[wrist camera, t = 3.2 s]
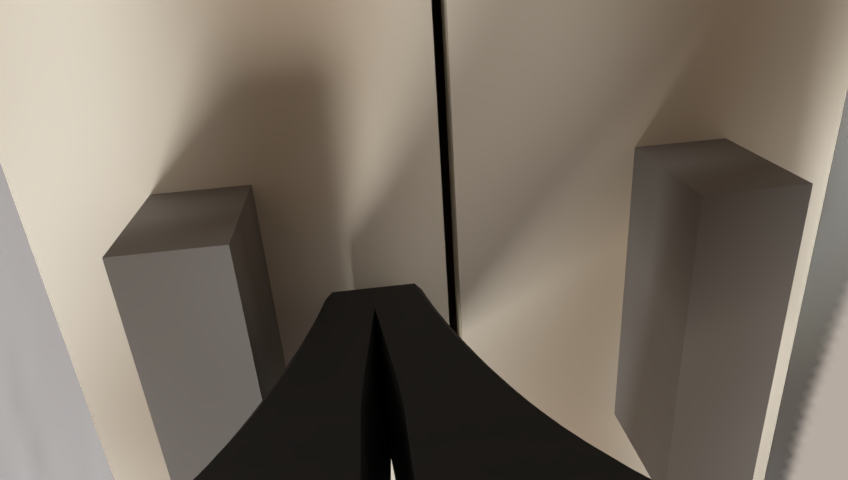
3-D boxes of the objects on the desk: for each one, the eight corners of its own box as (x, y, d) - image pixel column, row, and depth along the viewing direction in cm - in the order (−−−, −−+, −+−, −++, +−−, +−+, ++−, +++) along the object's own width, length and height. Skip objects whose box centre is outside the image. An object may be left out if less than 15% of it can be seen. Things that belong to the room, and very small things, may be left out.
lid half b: (854, -94, 9) (1032, -105, 7) (741, 487, 14) (823, 599, 11) (437, -63, 9) (472, -65, 6) (466, 526, 13) (493, 650, 11)
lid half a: (422, -62, 9) (451, -64, 6) (457, 527, 13) (481, 653, 11) (-41, -30, 8) (-196, -18, 6) (163, 568, 13) (124, 707, 11)
